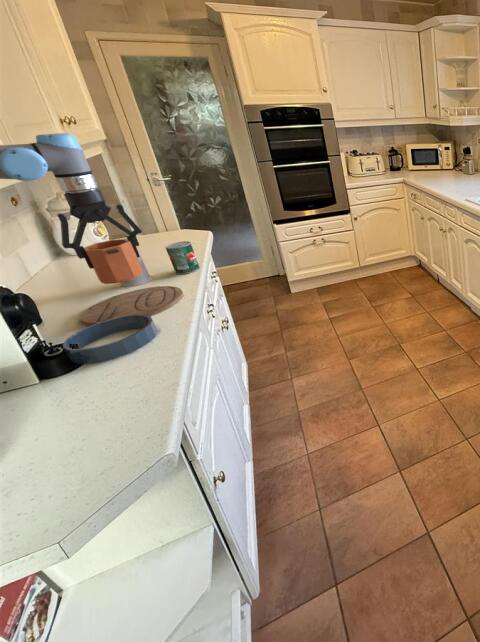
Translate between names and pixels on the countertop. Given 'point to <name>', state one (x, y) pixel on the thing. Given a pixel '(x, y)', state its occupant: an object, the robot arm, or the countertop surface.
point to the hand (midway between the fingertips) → (115, 261)
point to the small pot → (114, 261)
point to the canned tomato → (182, 257)
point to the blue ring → (115, 347)
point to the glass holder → (140, 279)
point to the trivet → (133, 304)
